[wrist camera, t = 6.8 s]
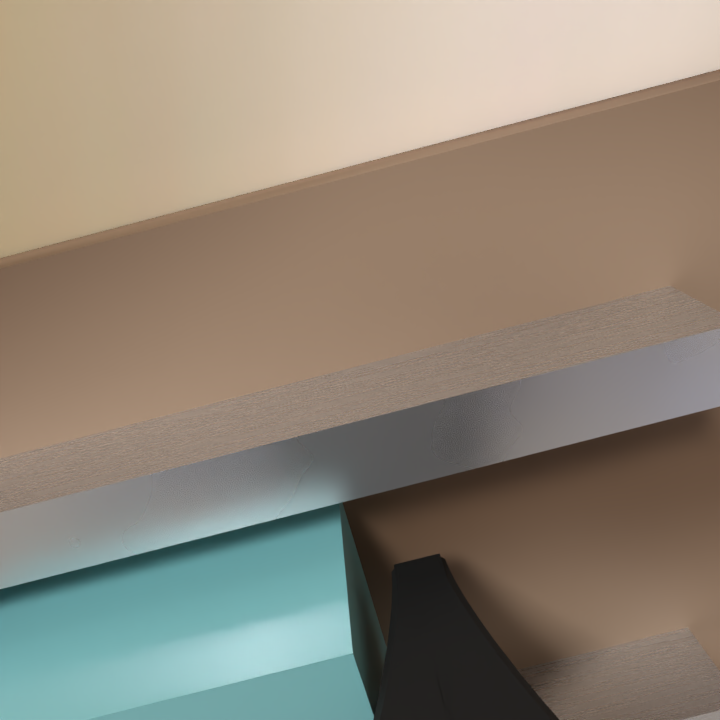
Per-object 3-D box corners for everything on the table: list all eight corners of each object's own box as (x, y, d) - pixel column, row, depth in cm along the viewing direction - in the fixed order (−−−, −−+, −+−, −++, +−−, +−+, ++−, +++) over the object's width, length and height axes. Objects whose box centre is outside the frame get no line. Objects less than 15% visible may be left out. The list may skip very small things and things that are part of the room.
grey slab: (689, 668, 11) (743, 748, 10) (88, 817, 12) (59, 916, 10) (670, 285, 9) (740, 323, 7) (-125, 490, 9) (-205, 564, 7)
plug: (396, 680, 11) (428, 879, 8) (110, 751, 11) (46, 973, 8) (337, 487, 9) (353, 653, 7) (4, 571, 9) (-118, 769, 7)
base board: (1372, 537, 13) (1454, 571, 12) (-13, 879, 13) (-37, 937, 13) (1718, -194, 8) (1894, -229, 7) (-421, 368, 9) (-504, 400, 8)
